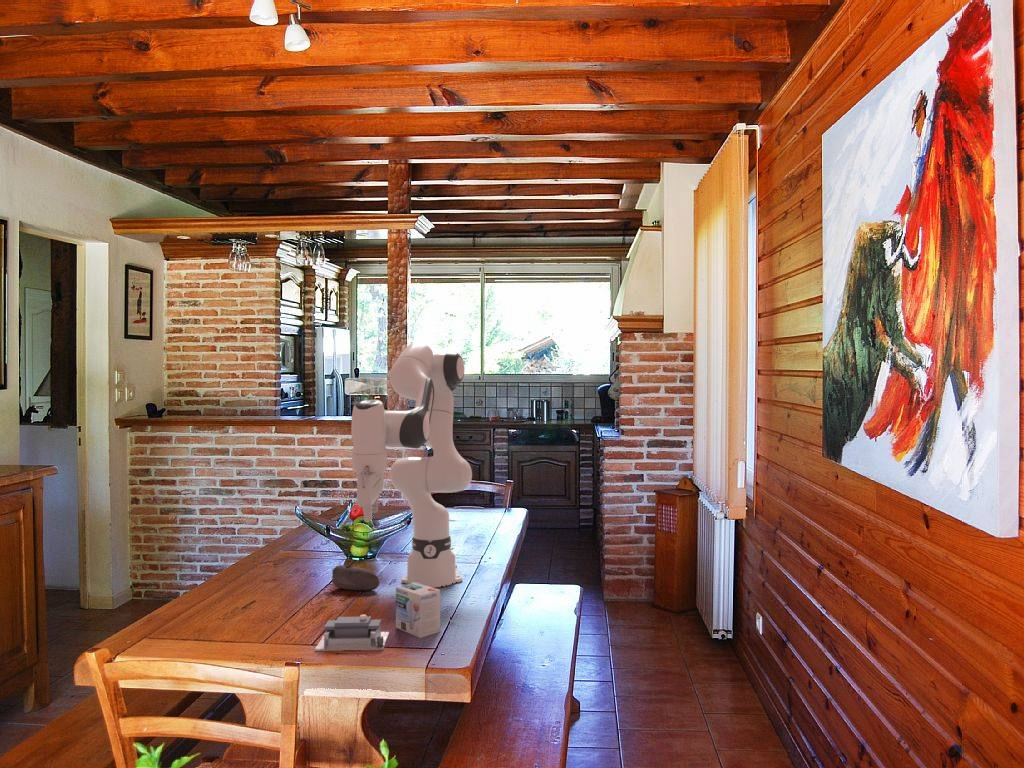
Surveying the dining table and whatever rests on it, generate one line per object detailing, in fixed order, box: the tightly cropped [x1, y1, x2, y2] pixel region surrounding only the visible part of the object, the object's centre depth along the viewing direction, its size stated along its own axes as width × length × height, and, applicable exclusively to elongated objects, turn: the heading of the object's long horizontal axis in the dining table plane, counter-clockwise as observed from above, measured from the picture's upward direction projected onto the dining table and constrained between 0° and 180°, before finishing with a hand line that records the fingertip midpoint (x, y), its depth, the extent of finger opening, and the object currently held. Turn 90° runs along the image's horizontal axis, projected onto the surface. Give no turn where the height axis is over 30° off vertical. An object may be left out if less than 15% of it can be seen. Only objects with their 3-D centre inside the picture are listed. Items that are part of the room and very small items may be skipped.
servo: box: [323, 614, 382, 637], centre depth 185 cm, size 4×13×6 cm, turn 91°
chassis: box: [314, 623, 390, 652], centre depth 185 cm, size 11×16×4 cm
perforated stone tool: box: [331, 564, 380, 592], centre depth 228 cm, size 15×5×7 cm, turn 70°
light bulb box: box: [395, 582, 441, 639], centre depth 193 cm, size 11×7×11 cm, turn 45°
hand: (371, 516), depth 196 cm, fingers open, 8 cm apart
